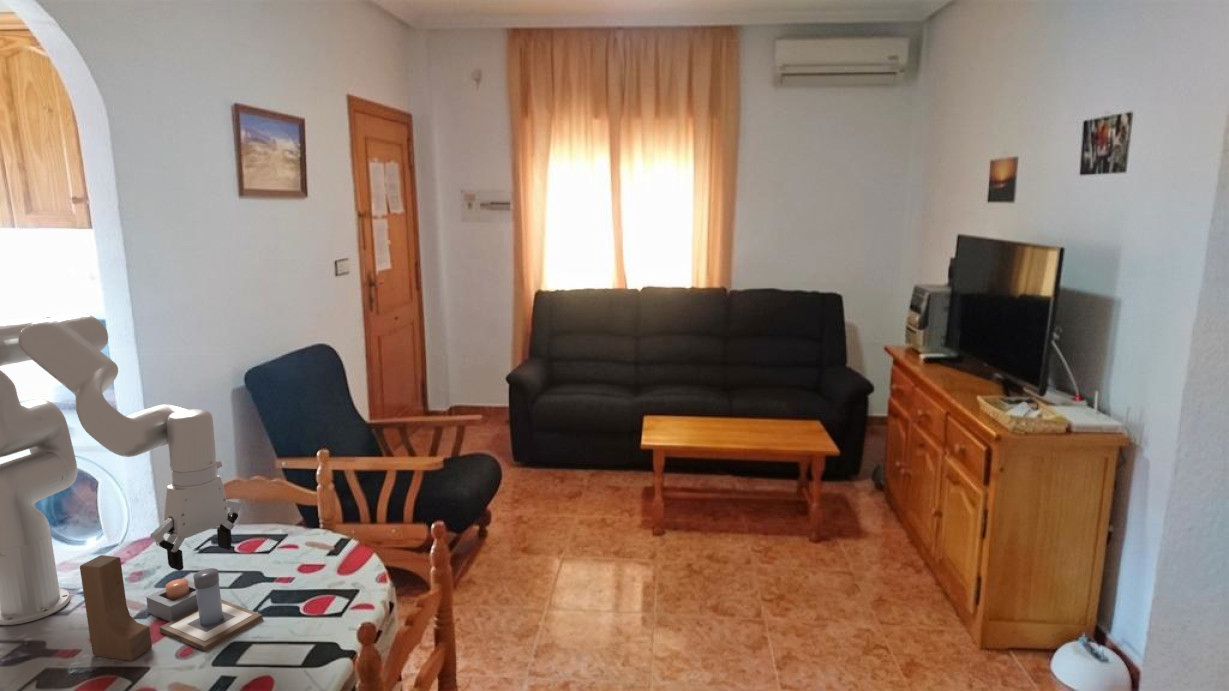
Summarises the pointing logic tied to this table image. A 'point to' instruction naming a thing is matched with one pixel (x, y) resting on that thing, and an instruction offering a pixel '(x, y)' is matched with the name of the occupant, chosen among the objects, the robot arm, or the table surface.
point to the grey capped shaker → (208, 596)
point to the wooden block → (111, 612)
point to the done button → (177, 589)
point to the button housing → (172, 604)
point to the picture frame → (211, 626)
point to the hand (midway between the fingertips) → (201, 557)
